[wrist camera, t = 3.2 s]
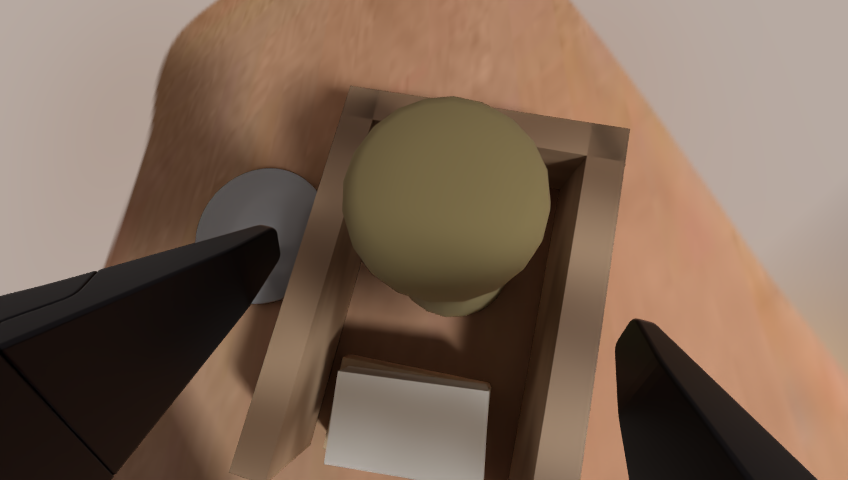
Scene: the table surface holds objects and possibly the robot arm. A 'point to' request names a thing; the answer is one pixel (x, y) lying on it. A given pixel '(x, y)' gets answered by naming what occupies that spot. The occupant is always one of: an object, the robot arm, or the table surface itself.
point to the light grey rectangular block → (407, 421)
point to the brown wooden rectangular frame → (556, 321)
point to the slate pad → (263, 217)
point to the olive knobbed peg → (446, 203)
